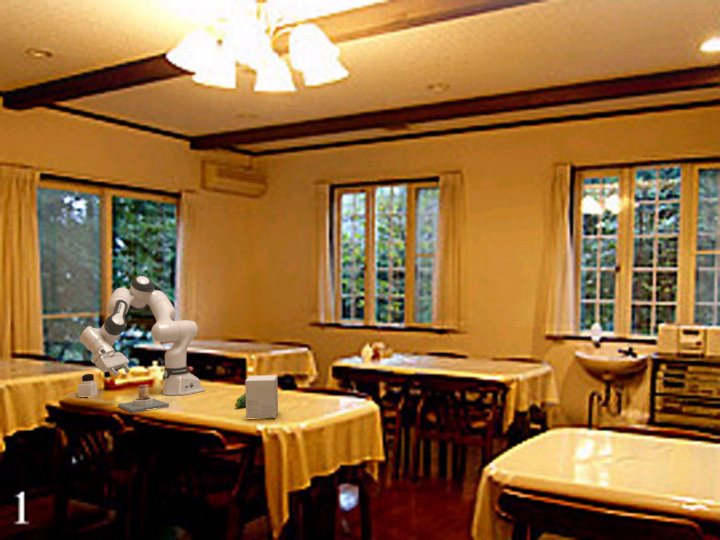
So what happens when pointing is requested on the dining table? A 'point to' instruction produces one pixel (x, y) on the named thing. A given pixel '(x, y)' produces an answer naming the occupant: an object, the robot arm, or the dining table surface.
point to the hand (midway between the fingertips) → (123, 373)
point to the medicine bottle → (87, 386)
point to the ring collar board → (140, 408)
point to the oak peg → (143, 392)
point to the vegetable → (241, 401)
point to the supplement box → (261, 396)
